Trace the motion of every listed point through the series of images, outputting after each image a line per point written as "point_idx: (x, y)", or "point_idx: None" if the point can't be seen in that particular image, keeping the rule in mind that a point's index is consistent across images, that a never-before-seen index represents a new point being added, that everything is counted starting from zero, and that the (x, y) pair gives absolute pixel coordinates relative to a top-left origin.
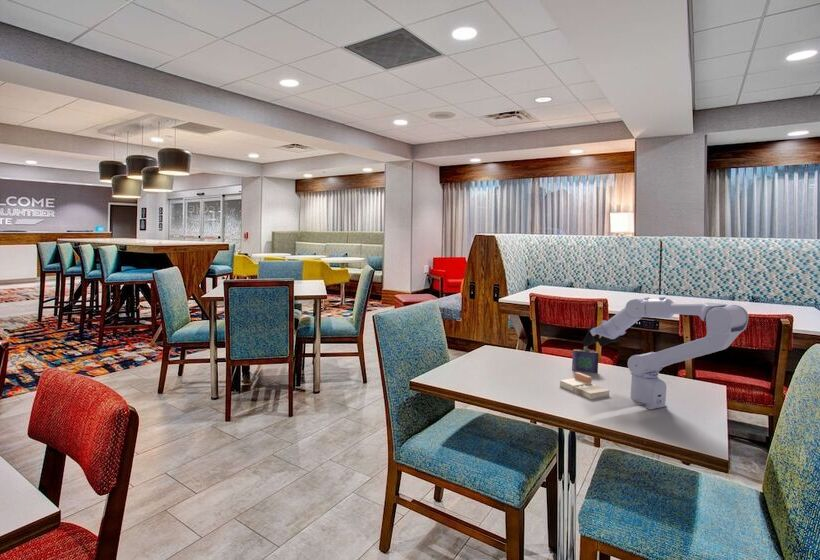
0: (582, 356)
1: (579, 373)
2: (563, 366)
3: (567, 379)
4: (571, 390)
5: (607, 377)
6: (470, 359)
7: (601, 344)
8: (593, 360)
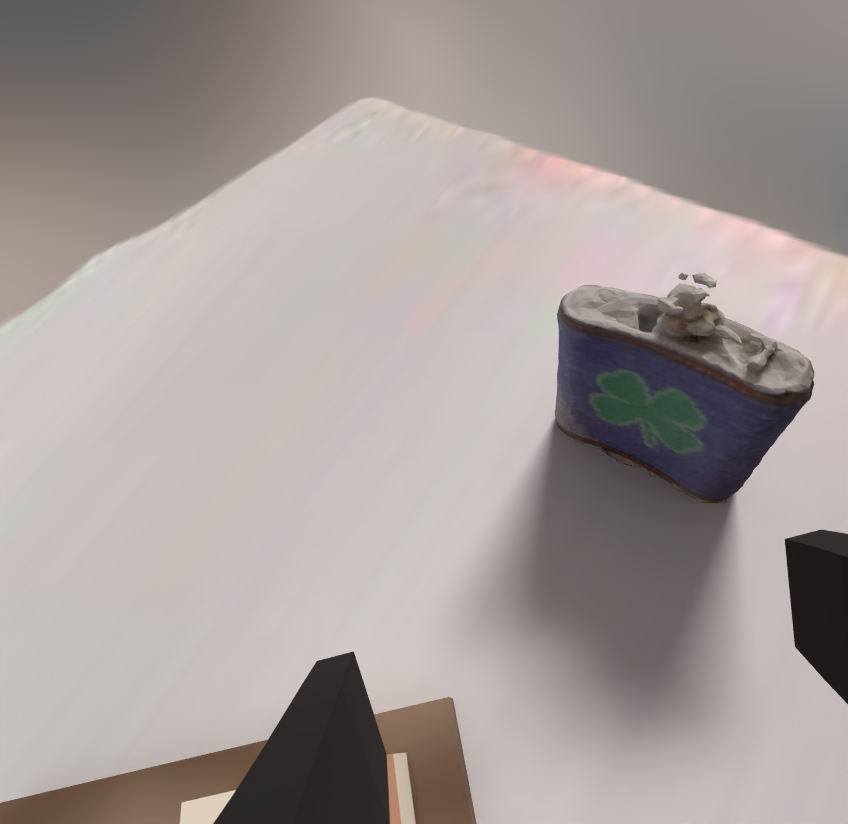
0: (632, 370)
1: None
2: None
3: None
4: None
5: None
6: (177, 236)
7: (834, 663)
8: (725, 431)
